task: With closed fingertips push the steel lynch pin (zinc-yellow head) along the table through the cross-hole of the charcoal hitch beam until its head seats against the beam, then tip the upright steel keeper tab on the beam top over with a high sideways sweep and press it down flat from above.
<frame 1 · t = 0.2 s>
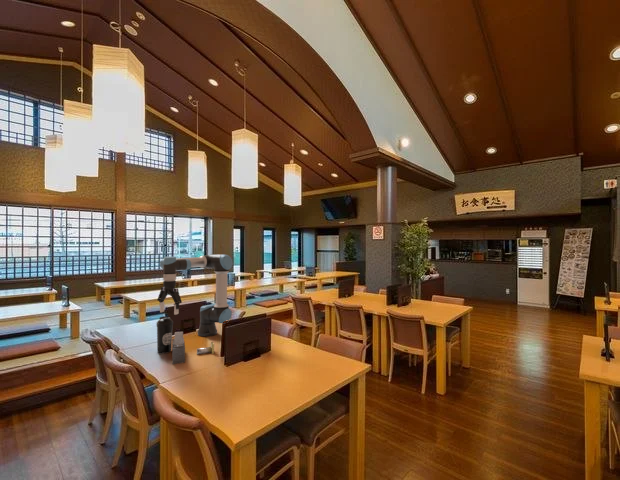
hand: (169, 313, 199), 28 cm above the table, fingers open, 13 cm apart
water bottle: (164, 351, 207), on the table
lynch pin: (204, 353, 204), on the table
hitch beam: (178, 357, 196), on the table
keeper tab: (178, 338, 191), point 13 cm above the table, hinge at 0.0°
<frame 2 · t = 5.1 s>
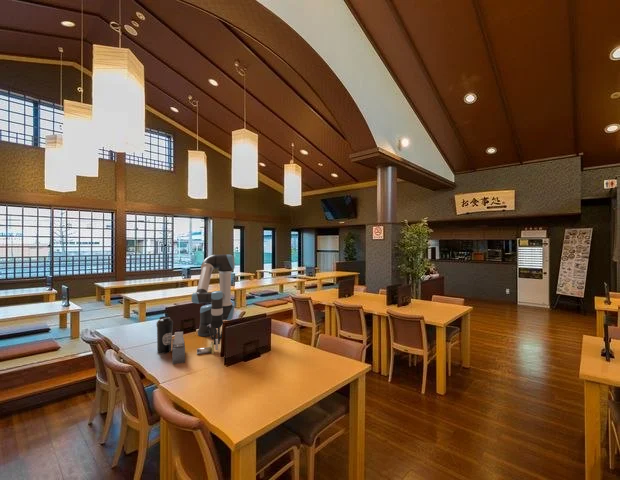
hand: (216, 349, 207), 2 cm above the table, fingers closed
lynch pin: (204, 353, 204), on the table, touching gripper
everything else where it was.
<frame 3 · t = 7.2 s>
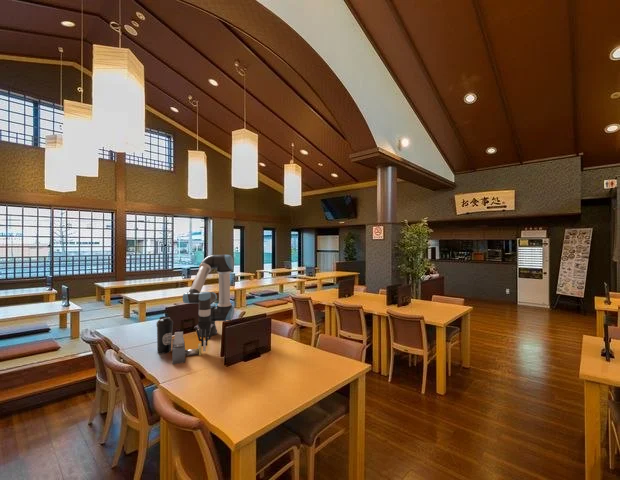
hand: (204, 350, 204), 2 cm above the table, fingers closed
lynch pin: (191, 355, 200), on the table, touching gripper
everything else where it was.
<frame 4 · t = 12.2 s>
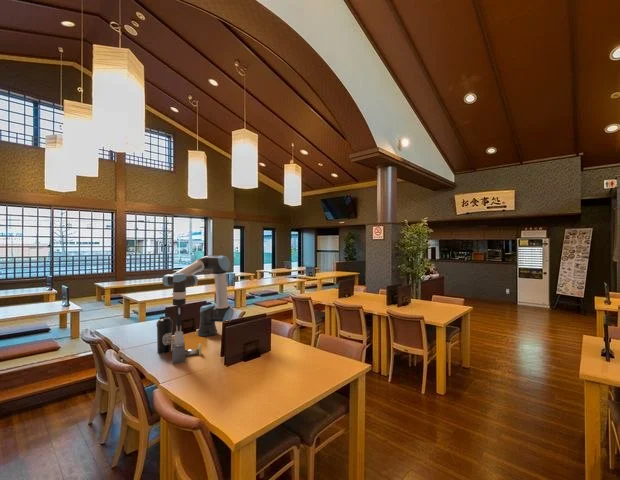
hand: (178, 335, 192), 15 cm above the table, fingers closed
lynch pin: (191, 355, 200), on the table
keeper tab: (178, 338, 191), point 13 cm above the table, hinge at 1.7°, touching gripper
everything else where it was.
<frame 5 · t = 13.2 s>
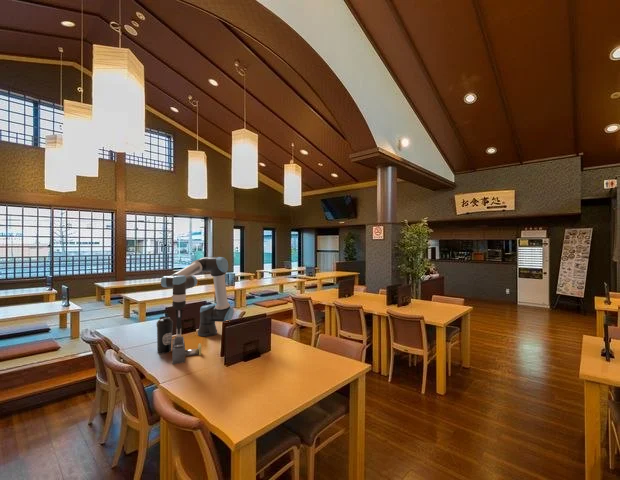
hand: (178, 338, 189), 14 cm above the table, fingers closed
keeper tab: (178, 341, 189), point 13 cm above the table, hinge at 40.0°, touching gripper
everything else where it was.
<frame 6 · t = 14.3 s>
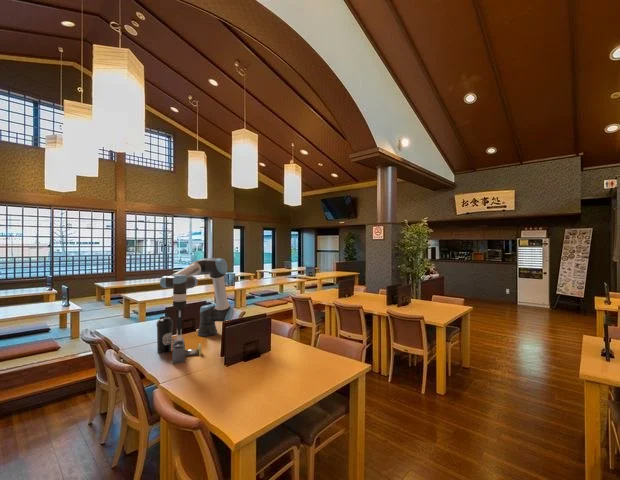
hand: (179, 339, 184), 15 cm above the table, fingers closed
keeper tab: (178, 342, 188), point 12 cm above the table, hinge at 57.7°
everything else where it was.
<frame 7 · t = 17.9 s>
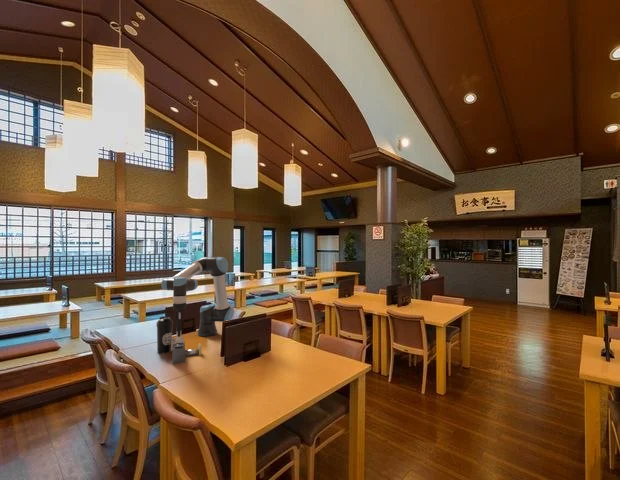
hand: (178, 341, 187), 13 cm above the table, fingers closed
keeper tab: (178, 343, 188), point 12 cm above the table, hinge at 64.0°, touching gripper
everything else where it was.
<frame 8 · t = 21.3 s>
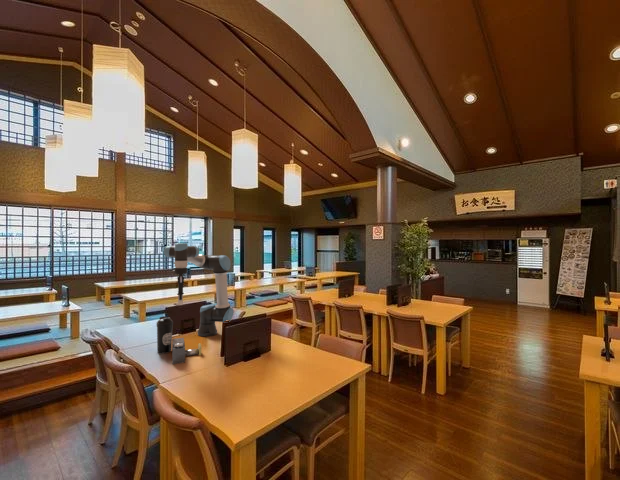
hand: (180, 304, 193), 34 cm above the table, fingers closed
keeper tab: (178, 344, 188), point 11 cm above the table, hinge at 78.3°
everything else where it was.
at the end: lynch pin 0.2 cm from the target spot on the table beside the hitch beam, on the table; keeper tab at +78° (first picture: +0°) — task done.
